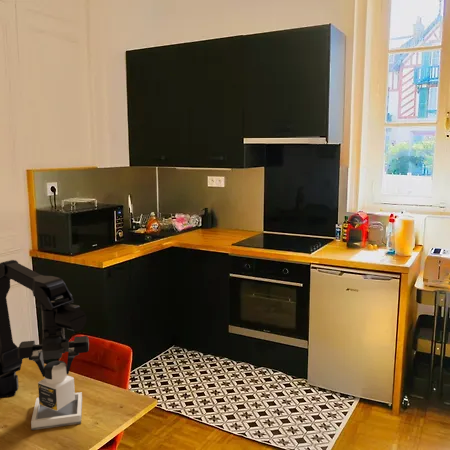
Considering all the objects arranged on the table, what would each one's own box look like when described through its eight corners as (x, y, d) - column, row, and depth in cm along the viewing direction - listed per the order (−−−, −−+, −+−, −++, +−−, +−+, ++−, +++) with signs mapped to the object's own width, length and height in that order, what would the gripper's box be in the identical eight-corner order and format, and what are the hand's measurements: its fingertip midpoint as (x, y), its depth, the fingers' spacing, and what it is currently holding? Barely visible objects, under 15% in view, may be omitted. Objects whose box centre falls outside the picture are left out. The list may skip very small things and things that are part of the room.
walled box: (31, 430, 132) (31, 421, 132) (37, 405, 144) (36, 397, 144) (81, 423, 135) (80, 415, 135) (82, 399, 148) (81, 392, 147)
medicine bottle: (38, 404, 138) (36, 365, 136) (58, 393, 144) (55, 356, 142) (56, 411, 135) (54, 371, 132) (75, 399, 141) (73, 361, 139)
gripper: (12, 337, 125) (16, 393, 128) (87, 331, 130) (89, 384, 133) (19, 322, 136) (22, 373, 138) (87, 316, 140) (89, 366, 143)
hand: (55, 374), depth 138 cm, fingers closed on medicine bottle, 6 cm apart
